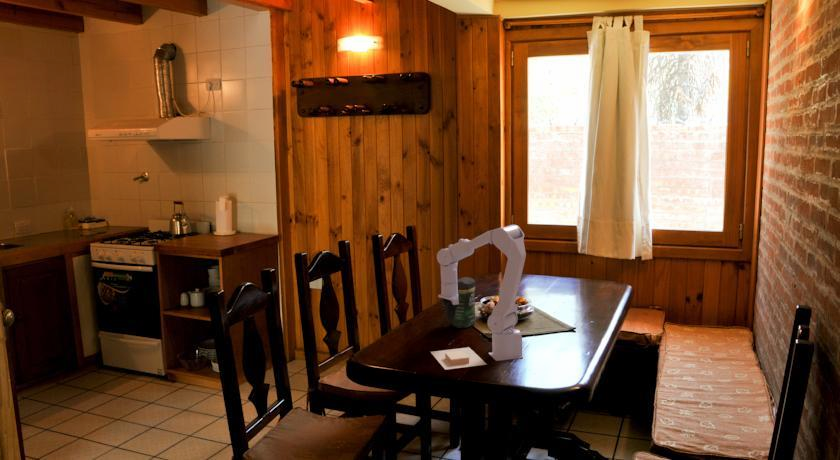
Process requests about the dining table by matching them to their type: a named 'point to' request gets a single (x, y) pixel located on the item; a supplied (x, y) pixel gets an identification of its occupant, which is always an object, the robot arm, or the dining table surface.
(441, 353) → the mat
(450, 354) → the tile
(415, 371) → the dining table surface
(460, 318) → the coffee jar
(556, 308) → the dining table surface
